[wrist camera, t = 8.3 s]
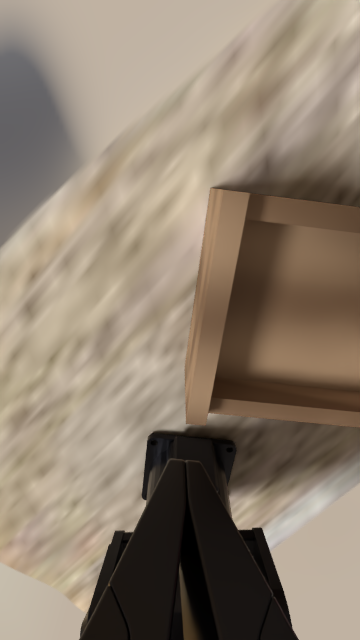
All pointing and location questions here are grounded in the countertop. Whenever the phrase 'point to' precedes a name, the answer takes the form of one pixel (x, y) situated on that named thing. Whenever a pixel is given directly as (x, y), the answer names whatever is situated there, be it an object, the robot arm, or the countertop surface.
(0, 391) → the countertop surface
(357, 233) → the brown wooden drawer
